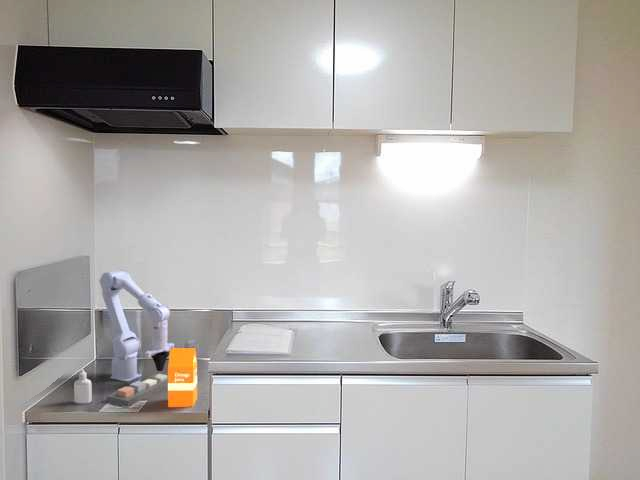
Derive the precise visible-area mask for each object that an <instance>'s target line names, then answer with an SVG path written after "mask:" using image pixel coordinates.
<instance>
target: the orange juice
mask: <svg viewBox="0 0 640 480" xmlns="http://www.w3.org/2000/svg"><path fill="white" fill-rule="evenodd" d="M168 357H169V358H168V363H167V364H168V366H167V375H168V387H167V404H168V405H167V407H168V408H187V407H188V408H189V407H190V406H191V407H190V408H192V407H193V408H194V406H195V405H196V404H195V403H196V402H197V399H198V359H197V352H196V348H195V347H188V348H187V347H184V348H183V347H180V348H178V347H177V348H176V347H174V348H171V349H169V356H168ZM195 401H196V402H195Z"/></svg>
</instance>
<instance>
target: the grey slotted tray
mask: <svg viewBox="0 0 640 480" xmlns="http://www.w3.org/2000/svg"><path fill="white" fill-rule="evenodd" d="M158 374H160V373H158V372H157V373H154V374H152V375H150V376H148V377H146V378H144V379H141V380H139V381H140V382H143V381H145V380H147V379H153V377H154V376H156V375H158ZM162 374H163V373H162ZM163 375H165V374H163ZM127 387H130V385H128V386H127ZM166 388H168V378H167V379H165V380H163V381H157V383H156V384H154V385H152V386H150V387H149V386H146V389H144V390H142V391H140V392H135V391H134V394H133V395H131V396H129V397H127V398H123V397H119V396H117V391H115V392H112V393H110V394H109V395H107V396H106V402H107V403H112V404H115V405H116V404H117V405H120V406H125V407H130V406H132V405H134V404H136V403H138V402H140V401H142V400H143V399H146V398H148V397H150V396H152V395H153V394H156V393H158V392H160V391H162V390H163V389H166Z"/></svg>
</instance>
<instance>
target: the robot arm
mask: <svg viewBox="0 0 640 480" xmlns="http://www.w3.org/2000/svg"><path fill="white" fill-rule="evenodd" d="M98 281H99V284H100V287H101V291H102V292H101V294H102V298H103V301H104V304H105V307H106V310H107V313H108V315H109V319H110V322H111V325H112V328H113V331H114V334H115V337H114V338H113V340H112V346H113V347H112V351H113V354H114V357H112V361H111V376H110V377H109V378H110V379H113V380H116V381H121V382H127V383H128V382H131V381H133V380H136V379H138V378H140V377H142V374H140V373H138V366H137V365H138V358H137V357H138V356H137V355H138V354H139V351H140V350H141V347H142V346H141V345H142V344H141V341H140V339H139V338H138V337H137V335H136V333H135V332H133V331H131V330H130V328H129V324H128V322H127V319H126V314H125V312H124V310H123V307H122V304H121V300H120V297H119V293H120V291H121V290H122V289H124V290H125V291H127V293H129V295H131V296H132V297H134V298H135V299H136V300H137V304H138V306H139V307H140V308H141V309H143V310H144V312H146V313H147V315H148V319H149V321H150V322H151V327H152V331H151V334H152V335H151V336H152V337H151V338H152V339H151V340H152V341H151V342H152V343H151V344H152V345H151V346H152V347H151V348H150V349H148V350H147V351H145V352H144V358H147V359H151V358H152V360H153V362H154V365H155V368H156V369H155V370H156V371H157V372H163V371H164V369H165V364H166V361H167V359H168V357H169V356H170V349H171V348H175V343H173V342H169V341H168V338H169V337H168V334H169V332H168V325H169V324H168V323H169V322H168V320H169V319H170V317H171V314H172V312H171V309H170V308H169V306H168V305H163V304H162V303H161V302H159V301H158V300H156V299H155V298H154V296H153V295H152V294H150V293H145V292H144V291H143V290H142V289H141V288H140V286H138V285H137V284H136V283H135V282H134V280H133V279H132V276H131V274H129V273H128V272H127V271H126V270H124V269H120V270H115V271H110V272H108V271H107V272H104V273H102V275H101V277H100V279H99V280H98ZM168 342H169V343H168Z"/></svg>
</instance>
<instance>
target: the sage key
mask: <svg viewBox="0 0 640 480" xmlns="http://www.w3.org/2000/svg"><path fill="white" fill-rule="evenodd" d="M167 378H168V374H164V375H163V373H159V374H158V375H156V376H154V377H153V380H157V381H163V380H165V379H167Z"/></svg>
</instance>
